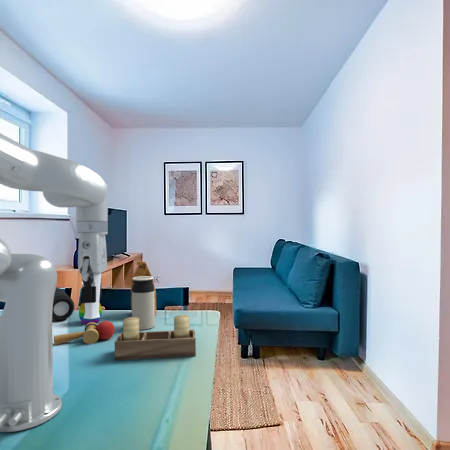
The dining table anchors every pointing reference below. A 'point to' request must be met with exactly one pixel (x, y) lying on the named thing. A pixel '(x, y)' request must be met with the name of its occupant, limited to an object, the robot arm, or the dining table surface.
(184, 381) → the dining table surface
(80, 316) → the decorative egg
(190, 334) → the wooden condiment caddy
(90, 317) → the white faceted vase
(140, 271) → the coffee package
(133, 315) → the travel mug
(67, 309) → the portable speaker
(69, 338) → the kendama
